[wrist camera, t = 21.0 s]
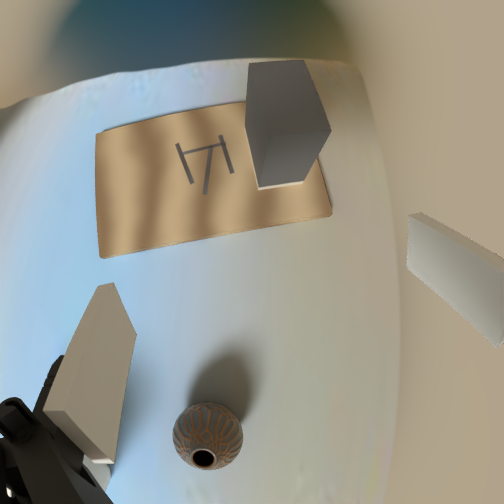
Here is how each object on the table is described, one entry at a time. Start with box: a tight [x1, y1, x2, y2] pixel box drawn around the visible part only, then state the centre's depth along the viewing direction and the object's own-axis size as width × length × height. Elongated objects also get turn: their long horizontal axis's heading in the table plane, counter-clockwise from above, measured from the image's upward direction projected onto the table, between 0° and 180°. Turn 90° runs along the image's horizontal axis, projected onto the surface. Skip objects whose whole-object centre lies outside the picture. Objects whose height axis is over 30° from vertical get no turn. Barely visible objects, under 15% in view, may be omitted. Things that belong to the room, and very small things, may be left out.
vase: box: [173, 402, 243, 470], centre depth 25 cm, size 7×7×9 cm
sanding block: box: [244, 60, 331, 190], centre depth 28 cm, size 8×5×11 cm, turn 11°
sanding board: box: [95, 102, 333, 259], centre depth 34 cm, size 26×16×1 cm, turn 101°
